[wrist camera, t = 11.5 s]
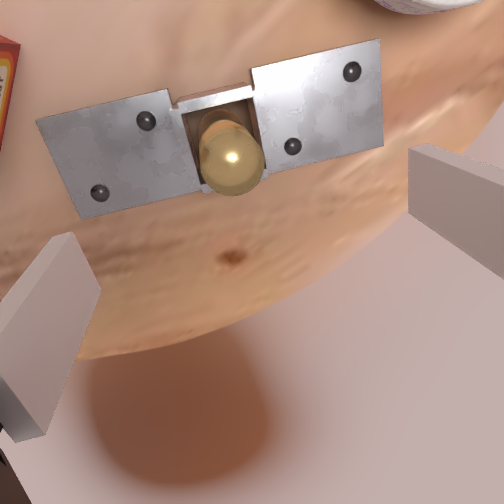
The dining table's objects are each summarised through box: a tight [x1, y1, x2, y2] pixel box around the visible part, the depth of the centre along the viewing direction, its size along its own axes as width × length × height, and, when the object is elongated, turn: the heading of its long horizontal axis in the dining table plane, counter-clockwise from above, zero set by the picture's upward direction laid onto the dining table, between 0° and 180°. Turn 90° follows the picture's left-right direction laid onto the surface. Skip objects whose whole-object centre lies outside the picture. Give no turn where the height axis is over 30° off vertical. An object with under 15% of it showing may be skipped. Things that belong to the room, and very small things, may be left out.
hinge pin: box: [198, 110, 265, 196], centre depth 28 cm, size 4×4×12 cm
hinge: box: [35, 39, 384, 220], centre depth 31 cm, size 29×9×5 cm, turn 102°
